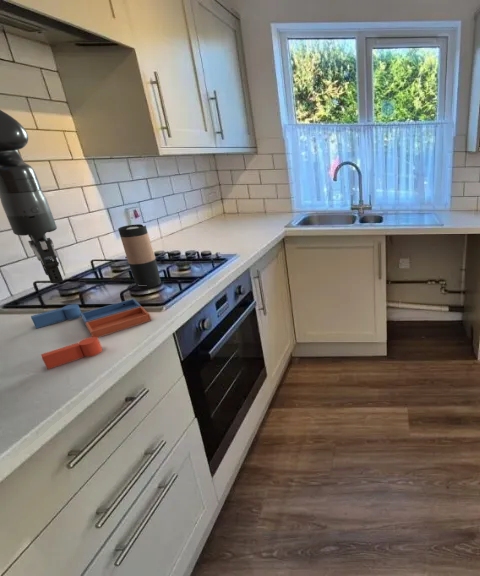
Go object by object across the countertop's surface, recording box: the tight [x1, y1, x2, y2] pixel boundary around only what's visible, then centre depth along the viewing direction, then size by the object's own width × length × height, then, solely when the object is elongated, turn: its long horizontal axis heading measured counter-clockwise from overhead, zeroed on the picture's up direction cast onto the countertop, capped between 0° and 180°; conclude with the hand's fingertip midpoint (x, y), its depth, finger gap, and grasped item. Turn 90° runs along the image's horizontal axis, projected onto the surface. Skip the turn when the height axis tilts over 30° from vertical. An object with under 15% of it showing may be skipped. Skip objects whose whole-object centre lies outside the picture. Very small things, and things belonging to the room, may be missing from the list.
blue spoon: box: [30, 303, 82, 329], centre depth 99 cm, size 10×4×3 cm, turn 136°
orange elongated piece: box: [40, 336, 103, 370], centre depth 82 cm, size 10×4×3 cm, turn 136°
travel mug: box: [117, 223, 162, 290], centre depth 119 cm, size 8×8×20 cm
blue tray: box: [80, 298, 142, 328], centre depth 102 cm, size 13×8×2 cm, turn 136°
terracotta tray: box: [85, 305, 152, 338], centre depth 96 cm, size 13×8×2 cm, turn 136°
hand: (54, 278), depth 88 cm, fingers open, 8 cm apart
